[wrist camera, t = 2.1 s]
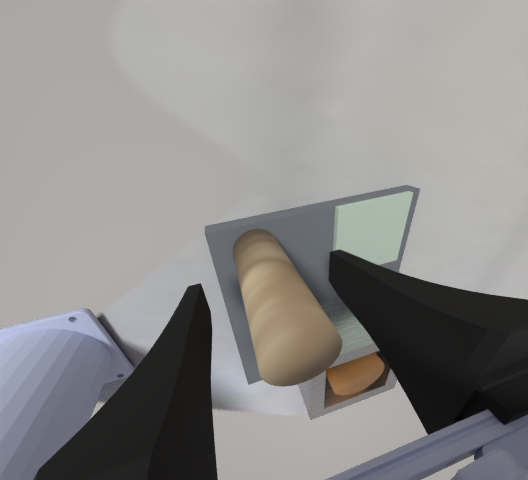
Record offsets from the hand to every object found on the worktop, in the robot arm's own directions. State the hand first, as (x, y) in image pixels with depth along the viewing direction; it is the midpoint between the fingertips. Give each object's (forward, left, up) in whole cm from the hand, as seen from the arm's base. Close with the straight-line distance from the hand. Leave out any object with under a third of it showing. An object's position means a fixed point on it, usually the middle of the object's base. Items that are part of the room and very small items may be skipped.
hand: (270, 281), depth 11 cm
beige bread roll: (0, 0, -4) cm, 4 cm away
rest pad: (+9, -1, -4) cm, 10 cm away
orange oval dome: (+6, -11, -1) cm, 13 cm away
